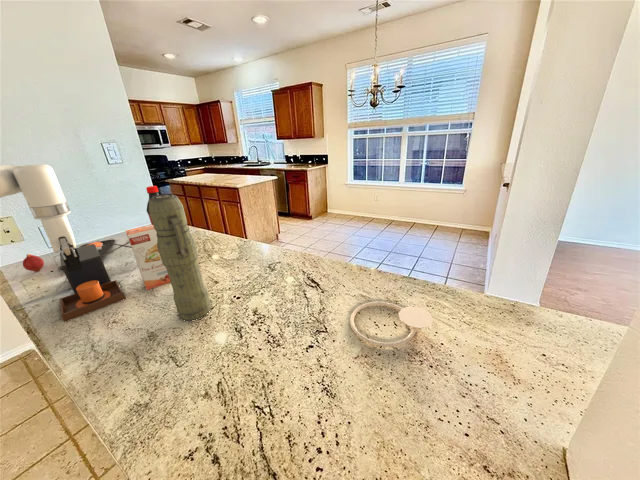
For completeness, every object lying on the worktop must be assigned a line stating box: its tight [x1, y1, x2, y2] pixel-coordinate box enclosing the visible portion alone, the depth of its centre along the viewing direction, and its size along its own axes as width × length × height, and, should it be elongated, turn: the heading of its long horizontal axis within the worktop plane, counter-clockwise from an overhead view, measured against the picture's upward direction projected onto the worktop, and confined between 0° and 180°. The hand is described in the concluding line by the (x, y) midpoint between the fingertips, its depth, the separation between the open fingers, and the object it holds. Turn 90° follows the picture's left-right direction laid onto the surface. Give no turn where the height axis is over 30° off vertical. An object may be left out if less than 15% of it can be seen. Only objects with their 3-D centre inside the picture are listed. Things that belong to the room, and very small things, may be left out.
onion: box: [22, 253, 45, 273], centre depth 107 cm, size 6×6×8 cm
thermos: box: [148, 193, 212, 322], centre depth 71 cm, size 9×12×35 cm
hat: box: [76, 281, 111, 308], centre depth 84 cm, size 9×9×6 cm
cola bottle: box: [145, 185, 160, 225], centre depth 114 cm, size 8×8×30 cm
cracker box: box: [125, 224, 171, 291], centre depth 92 cm, size 14×6×21 cm, turn 129°
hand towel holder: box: [349, 301, 434, 348], centre depth 68 cm, size 17×4×21 cm
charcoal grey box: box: [59, 244, 112, 294], centre depth 95 cm, size 10×16×12 cm, turn 44°
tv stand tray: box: [59, 279, 127, 323], centre depth 85 cm, size 15×12×2 cm
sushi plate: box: [59, 239, 132, 271], centre depth 122 cm, size 29×30×4 cm
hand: (74, 264), depth 80 cm, fingers open, 9 cm apart
